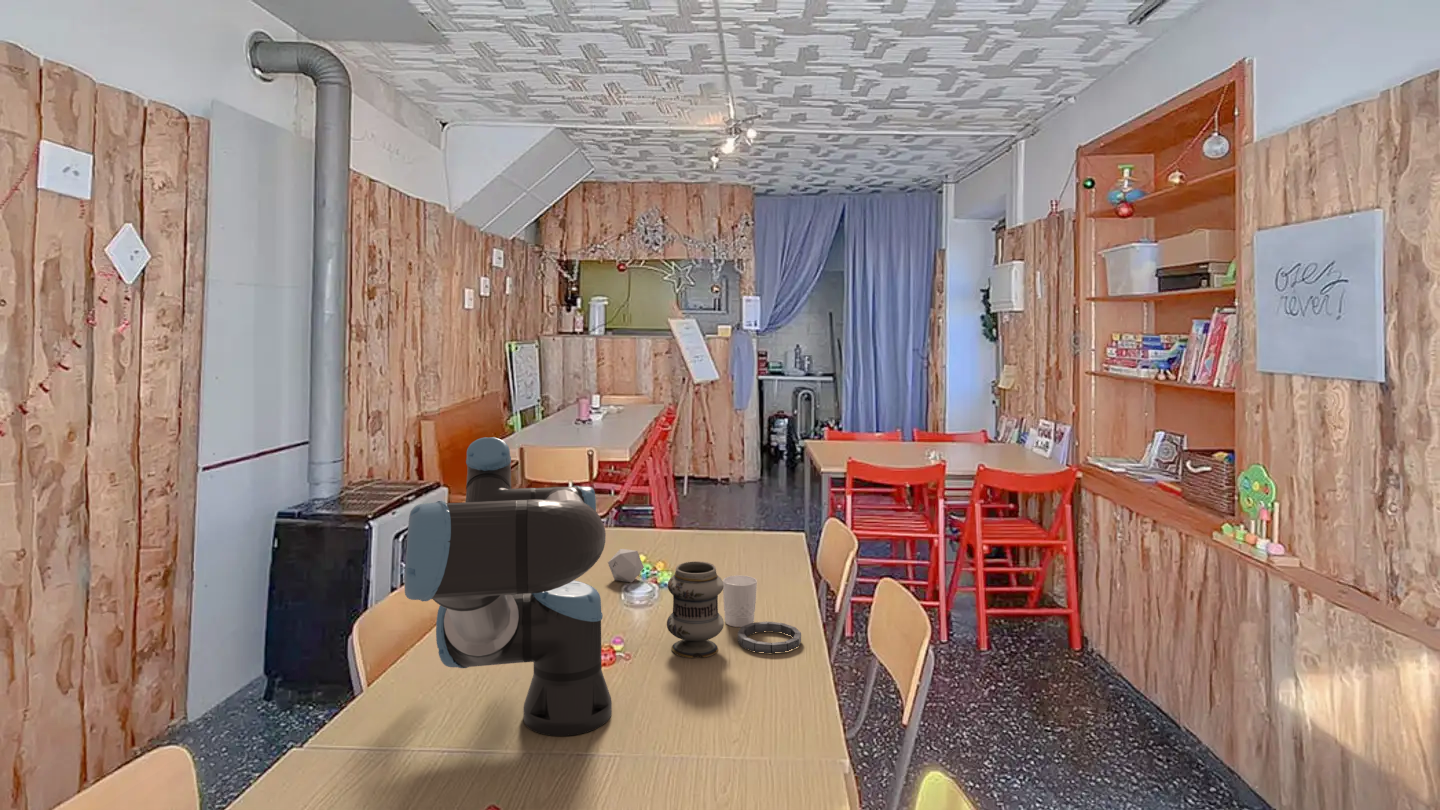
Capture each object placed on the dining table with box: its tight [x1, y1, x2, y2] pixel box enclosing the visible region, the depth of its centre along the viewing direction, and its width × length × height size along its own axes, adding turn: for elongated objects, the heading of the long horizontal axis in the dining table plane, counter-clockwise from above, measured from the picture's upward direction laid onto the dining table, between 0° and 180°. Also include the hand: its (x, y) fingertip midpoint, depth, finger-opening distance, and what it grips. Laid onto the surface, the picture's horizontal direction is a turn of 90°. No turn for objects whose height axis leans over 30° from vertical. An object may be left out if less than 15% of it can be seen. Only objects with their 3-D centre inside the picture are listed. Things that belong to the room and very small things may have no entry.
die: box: [607, 548, 645, 583], centre depth 217 cm, size 8×9×10 cm
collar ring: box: [737, 621, 802, 654], centre depth 174 cm, size 13×13×2 cm
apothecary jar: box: [666, 560, 725, 659], centre depth 169 cm, size 12×12×18 cm
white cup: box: [722, 574, 758, 628], centre depth 185 cm, size 8×8×10 cm
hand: (496, 578), depth 164 cm, fingers open, 13 cm apart
